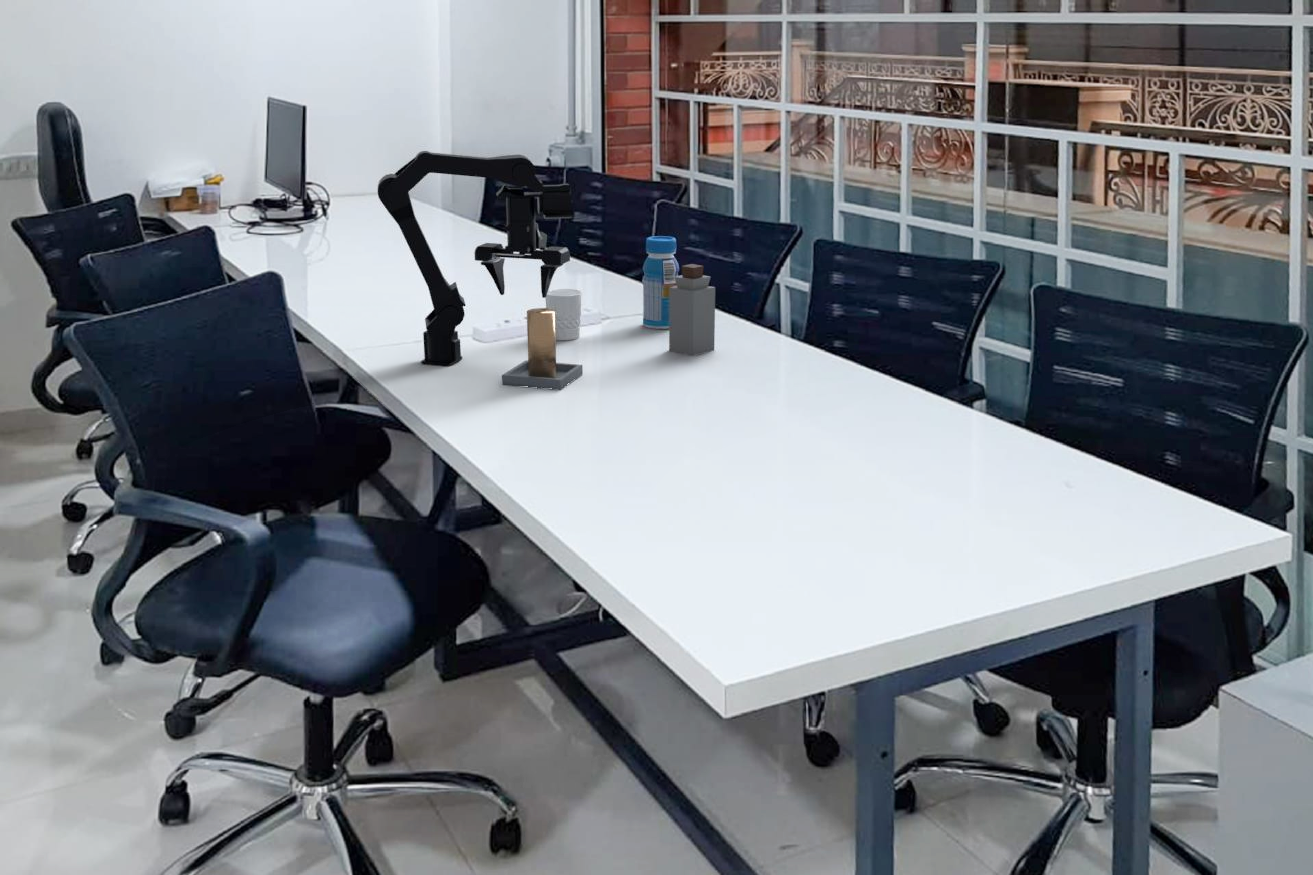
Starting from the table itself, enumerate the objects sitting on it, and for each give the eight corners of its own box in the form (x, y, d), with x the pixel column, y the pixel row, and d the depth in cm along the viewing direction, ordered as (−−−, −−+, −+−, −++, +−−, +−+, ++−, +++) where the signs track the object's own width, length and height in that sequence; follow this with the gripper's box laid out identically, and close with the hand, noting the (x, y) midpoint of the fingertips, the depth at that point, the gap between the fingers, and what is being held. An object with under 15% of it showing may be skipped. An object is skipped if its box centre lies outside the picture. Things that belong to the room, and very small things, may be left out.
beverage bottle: (639, 329, 311) (639, 240, 305) (645, 321, 319) (645, 234, 313) (676, 330, 310) (676, 241, 304) (682, 322, 318) (682, 235, 311)
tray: (502, 385, 265) (501, 375, 265) (526, 370, 276) (525, 360, 276) (560, 390, 262) (560, 380, 261) (582, 374, 273) (582, 364, 272)
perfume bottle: (714, 350, 292) (715, 265, 287) (692, 355, 288) (693, 270, 282) (690, 344, 297) (691, 261, 291) (669, 350, 292) (669, 266, 287)
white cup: (563, 331, 309) (562, 287, 306) (589, 336, 304) (588, 291, 301) (538, 337, 303) (537, 292, 300) (565, 343, 298) (564, 297, 295)
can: (523, 376, 269) (521, 310, 265) (546, 371, 273) (544, 307, 269) (538, 382, 265) (536, 315, 261) (561, 377, 268) (560, 311, 264)
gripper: (578, 215, 282) (580, 291, 286) (494, 211, 287) (497, 286, 292) (559, 223, 272) (560, 302, 276) (471, 219, 277) (475, 296, 282)
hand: (523, 296), depth 282 cm, fingers open, 9 cm apart
